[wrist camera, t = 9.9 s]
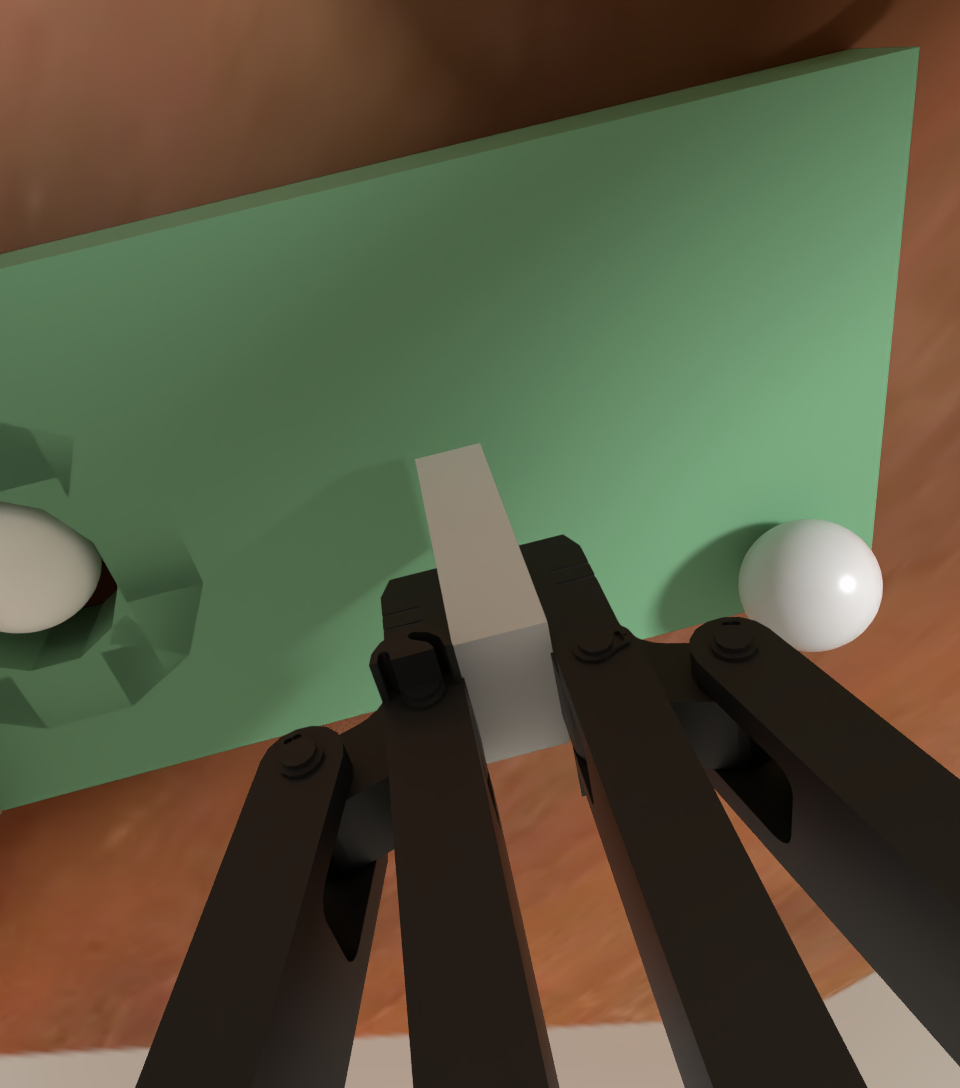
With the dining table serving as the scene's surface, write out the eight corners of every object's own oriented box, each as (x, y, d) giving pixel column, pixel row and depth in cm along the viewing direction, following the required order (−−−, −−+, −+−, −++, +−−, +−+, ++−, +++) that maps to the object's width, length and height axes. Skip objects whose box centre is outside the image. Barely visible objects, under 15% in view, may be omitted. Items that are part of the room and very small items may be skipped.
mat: (-342, 336, 17) (-528, 411, 14) (852, 48, 18) (987, 44, 15) (-8, 757, 25) (-68, 881, 21) (824, 537, 26) (909, 617, 22)
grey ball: (714, 514, 22) (778, 586, 19) (838, 481, 22) (920, 548, 19) (718, 613, 24) (776, 694, 21) (831, 583, 24) (905, 659, 21)
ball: (85, 454, 20) (20, 515, 22) (-55, 479, 17) (-118, 547, 19) (154, 574, 20) (83, 625, 22) (26, 621, 17) (-45, 675, 19)
